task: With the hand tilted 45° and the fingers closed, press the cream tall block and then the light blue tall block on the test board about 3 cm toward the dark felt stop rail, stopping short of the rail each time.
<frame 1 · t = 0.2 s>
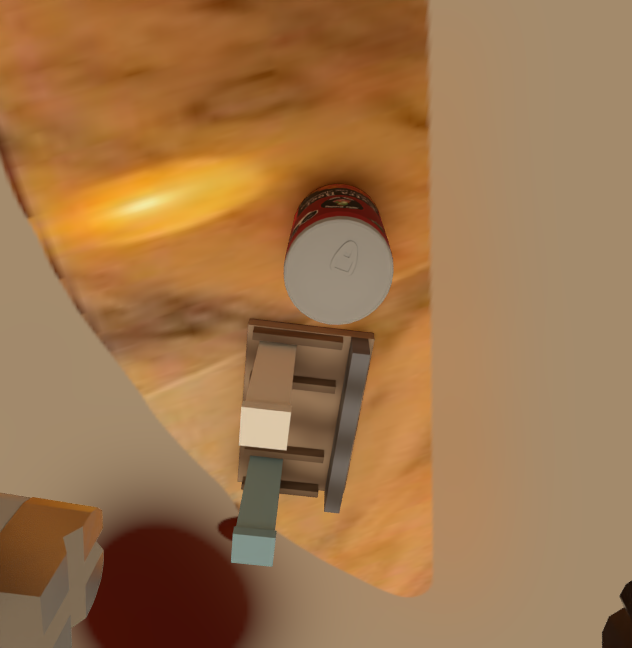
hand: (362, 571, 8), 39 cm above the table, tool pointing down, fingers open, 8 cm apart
cream tall block: (271, 389, 45), point 7 cm above the table, slide at 0.0 cm
light blue tall block: (260, 504, 52), point 7 cm above the table, slide at 0.0 cm
canned food: (336, 226, 46), on the table
board: (300, 409, 55), on the table
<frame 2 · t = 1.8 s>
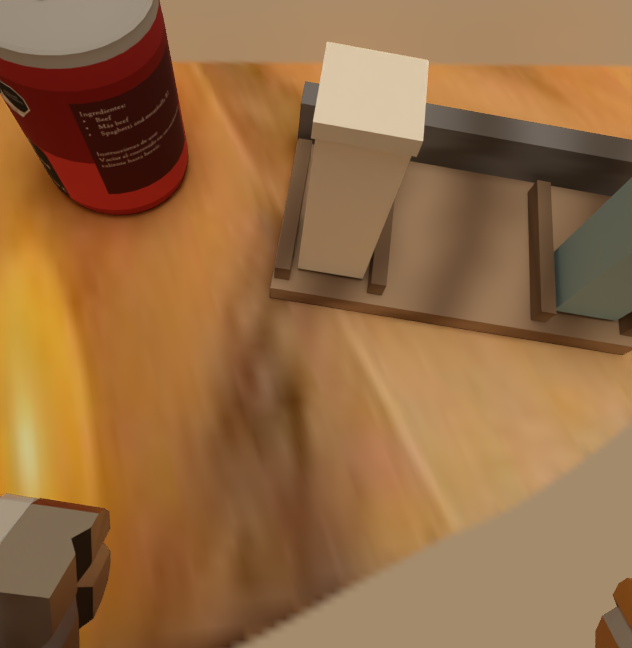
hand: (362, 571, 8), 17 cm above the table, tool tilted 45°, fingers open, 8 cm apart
cream tall block: (349, 184, 23), point 7 cm above the table, slide at 0.0 cm
canned food: (122, 166, 31), on the table
board: (452, 234, 31), on the table
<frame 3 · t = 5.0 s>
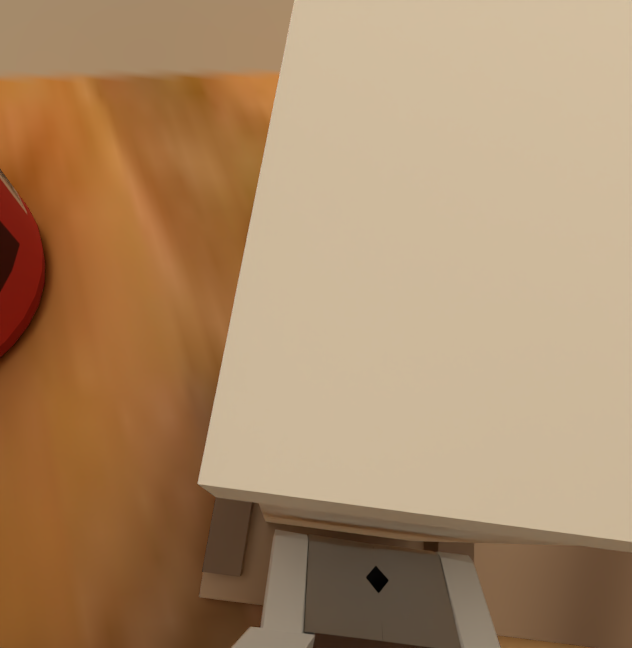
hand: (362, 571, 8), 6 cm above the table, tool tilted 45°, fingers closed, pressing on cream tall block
cream tall block: (393, 405, 8), point 7 cm above the table, slide at 0.5 cm, touching gripper
board: (581, 409, 15), on the table
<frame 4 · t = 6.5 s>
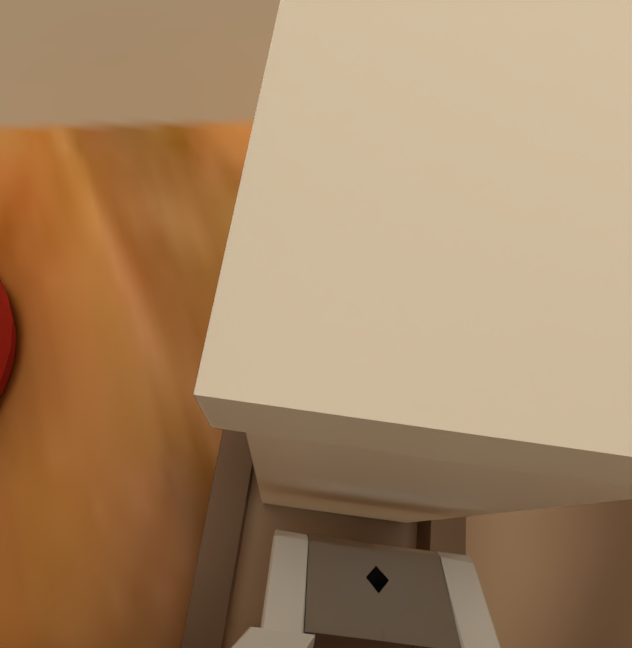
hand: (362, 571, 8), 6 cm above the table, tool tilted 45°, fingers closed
cream tall block: (385, 381, 8), point 7 cm above the table, slide at 3.2 cm
board: (579, 491, 15), on the table
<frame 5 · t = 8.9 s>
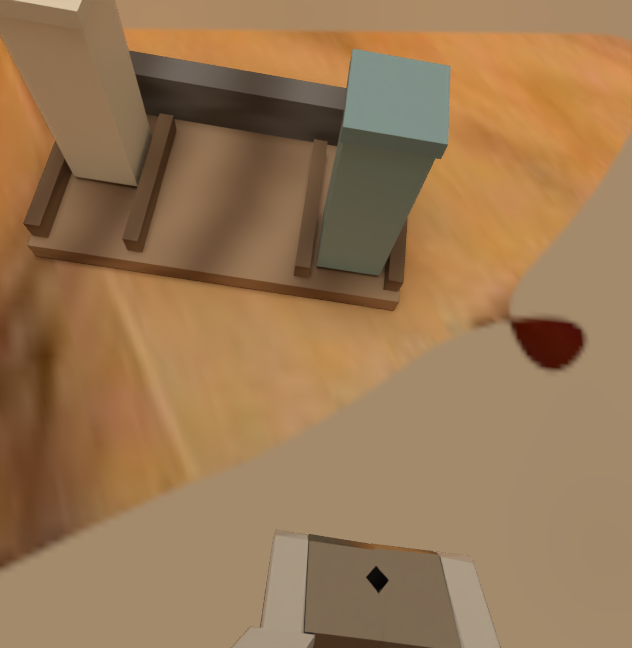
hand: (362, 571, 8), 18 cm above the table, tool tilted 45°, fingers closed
cream tall block: (84, 80, 25), point 7 cm above the table, slide at 3.2 cm
light blue tall block: (369, 184, 24), point 7 cm above the table, slide at 0.0 cm
board: (236, 194, 31), on the table
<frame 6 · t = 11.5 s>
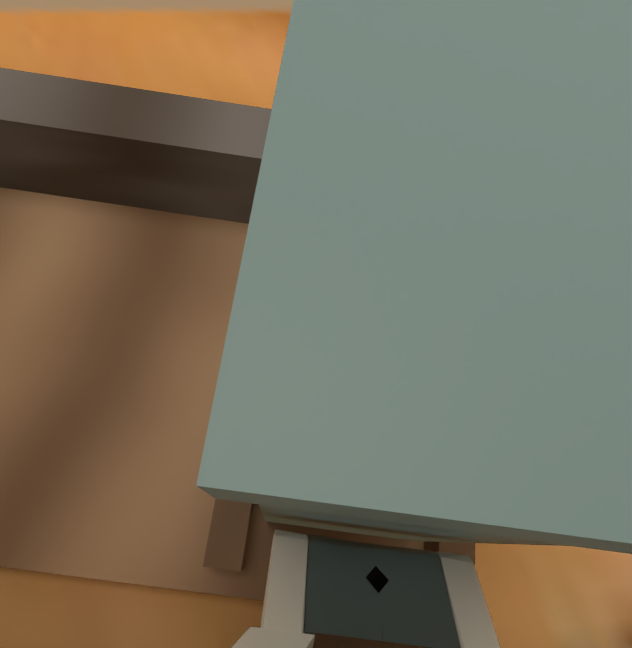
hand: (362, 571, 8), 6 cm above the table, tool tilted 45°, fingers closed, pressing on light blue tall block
light blue tall block: (394, 404, 8), point 7 cm above the table, slide at 0.4 cm, touching gripper
board: (109, 340, 15), on the table
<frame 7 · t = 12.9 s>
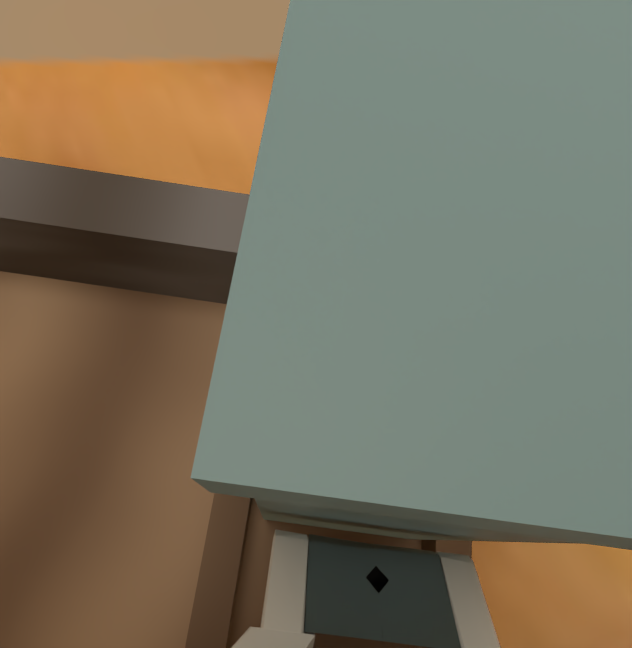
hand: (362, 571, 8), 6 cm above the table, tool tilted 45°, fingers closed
light blue tall block: (391, 403, 8), point 7 cm above the table, slide at 3.1 cm
board: (81, 431, 14), on the table
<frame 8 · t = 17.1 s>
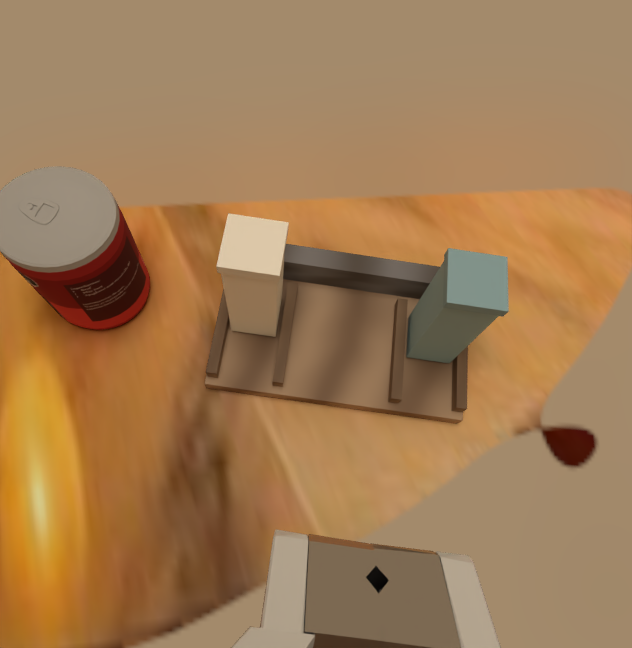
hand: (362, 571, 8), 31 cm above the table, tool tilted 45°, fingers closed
cream tall block: (255, 283, 37), point 7 cm above the table, slide at 3.2 cm
light blue tall block: (449, 313, 37), point 7 cm above the table, slide at 3.1 cm
canned food: (104, 290, 43), on the table
board: (340, 335, 43), on the table
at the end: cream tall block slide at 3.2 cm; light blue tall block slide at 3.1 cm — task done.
